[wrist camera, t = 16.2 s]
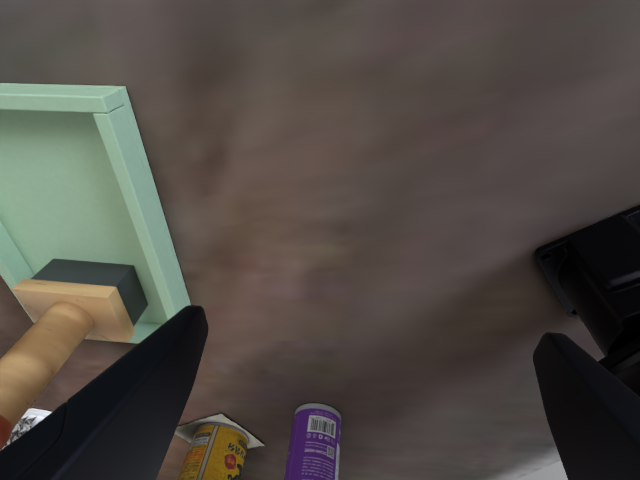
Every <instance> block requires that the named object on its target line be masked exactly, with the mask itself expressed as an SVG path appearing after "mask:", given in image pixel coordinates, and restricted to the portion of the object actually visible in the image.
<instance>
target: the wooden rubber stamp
mask: <svg viewBox="0 0 640 480" xmlns="http://www.w3.org/2000/svg"><path fill="white" fill-rule="evenodd" d="M12 290H13V291H14V293H15V294H16V296H17V297H18V299H19V300H20V302H21V303H22V305H23V306H24V308H25V309H26V311H27V312H28V314H29V315H30V317H31V318H32V320H33V321H34V325H33V326H32V327H31V328H30V329H29V330H28V331H27V332H26V333H25V334H24V335H23V336H22V337H21V338H20V339H19V340H18V341H17V342H16V343H15V344H14V345H13V346H12V347H11V348H10V349H9V350H8V351H7V352H6V353H5V355H4V356H3V357H2V358H1V359H0V451H1V450H2V449H3V447H4V446H5V445H6V443H7V442H8V440H9V438H10V436H11V433H12V429H13V428H14V427H15V425H16V424H17V423H18V422H19V420H20V419H21V418H22V417H23V415H24V414H25V413H26V412H27V410H28V409H29V408H30V406H31V405H32V404H33V403H34V401H35V400H36V399H37V398H38V396H39V395H40V394H41V392H42V391H43V390H44V389H45V387H46V386H47V385H48V384H49V382H50V381H51V380H52V379H53V377H54V376H55V375H56V373H57V372H58V371H59V370H60V368H61V367H62V366H63V365H64V363H65V362H66V361H67V359H68V358H69V357H70V356H71V354H72V353H73V352H74V351H75V349H76V348H77V347H78V346H79V344H80V343H81V342H82V340H83V339H84V338H88V339H98V340H108V341H118V342H129V341H130V339H131V338H132V336H133V335H134V333H135V329H134V326H135V324H136V323H137V321H138V320H139V318H140V317H141V315H142V314H143V312H144V311H145V309H146V308H147V306H148V302H147V300H146V297H145V294H144V292H143V289H142V286H141V283H140V281H139V278H138V275H137V273H136V270H135V267H134V265H126V264H115V263H103V262H91V261H79V260H67V259H55V258H54V259H52V260H51V261H50V262H49V263H48V264H47V265H45V266H44V267H43V268H42V269H41V270H40V271H39V272H38V273H36V274H35V275H34V276H33V277H32V278H31V279H22V280H21V281H20V282H19V283H18V284H17V285H16V286H14V287H13V288H12Z"/></svg>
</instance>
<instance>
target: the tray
mask: <svg viewBox="0 0 640 480" xmlns="http://www.w3.org/2000/svg"><path fill="white" fill-rule="evenodd" d="M54 258H55V259H67V260H79V261H91V262H103V263H115V264H126V265H134V267H135V270H136V273H137V275H138V278H139V281H140V283H141V286H142V289H143V292H144V294H145V297H146V300H147V302H148V306H147V308H146V309H145V311H144V312H143V314H142V315H141V317H140V318H139V320H138V321H137V323H136V324H135V326H134V329H135V333H134V335H133V336H132V338H131V339H130V341H129V342H126V343H137V344H139V343H140V342H141V341H142V340H144V339H145V338H146V337H147V336H149V335H150V334H151V333H152V332H154V331H155V330H156V329H158V328H159V327H160V326H161V325H163V324H164V323H165V322H166V321H168V320H169V319H170V318H171V317H173V316H174V315H175V314H176V313H178V312H179V311H180V310H181V309H183V308H184V307H185V306H188V305H191V303H190V300H189V297H188V293H187V290H186V287H185V283H184V280H183V277H182V273H181V270H180V267H179V263H178V260H177V257H176V253H175V250H174V247H173V243H172V240H171V237H170V233H169V230H168V227H167V223H166V220H165V217H164V213H163V210H162V207H161V203H160V200H159V197H158V193H157V190H156V187H155V183H154V180H153V177H152V173H151V170H150V167H149V163H148V160H147V157H146V153H145V150H144V146H143V143H142V140H141V136H140V133H139V130H138V126H137V123H136V120H135V116H134V113H133V110H132V106H131V103H130V100H129V96H128V93H127V90H126V87H125V86H94V85H56V84H18V83H0V275H1V276H2V278H3V279H4V281H5V282H6V283H7V285H8V286H9V288H10V289H11V291H12V292H13V294H14V295H15V296H16V294H15V293H14V291H13V290H12V288H13V287H14V286H16V285H17V284H18V283H19V282H20V281H21V280H22V279H31V278H32V277H33V276H34V275H35V274H36V273H38V272H39V271H40V270H41V269H42V268H43V267H44V266H45V265H47V264H48V263H49V262H50V261H51V260H52V259H54ZM16 298H17V299H18V297H17V296H16ZM18 301H19V302H20V300H19V299H18ZM20 304H21V305H22V303H21V302H20ZM22 306H23V305H22ZM23 308H24V306H23ZM24 309H25V308H24ZM25 311H26V309H25ZM26 312H27V311H26ZM27 314H28V312H27ZM28 315H29V314H28ZM29 317H30V315H29ZM30 318H31V317H30ZM31 319H32V318H31ZM32 321H33V320H32ZM33 322H34V321H33ZM84 339H88V338H84ZM92 340H98V339H92ZM103 341H108V340H103ZM114 342H118V341H114Z"/></svg>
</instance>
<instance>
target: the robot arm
mask: <svg viewBox="0 0 640 480" xmlns="http://www.w3.org/2000/svg"><path fill="white" fill-rule="evenodd" d="M546 253H548V254H546ZM544 254H546V255H545V256H542V255H544ZM535 257H536V259H537V261H538V263H539V264H540V266H541V268H542V270H543V272H544V273H545V275H546V277H547V279H548V281H549V282H550V284H551V286H552V288H553V290H554V291H555V293H556V295H557V297H558V299H559V300H560V302H561V304H562V306H563V308H564V309H565V311H566V313H567V314H568V315H569V316H571V317H577V316H579V317H580V318H581V320H582V321H583V323H584V324H585V326H586V327H587V329H588V331H589V332H590V334H591V335H592V337H593V338H594V340H595V342H596V343H597V345H598V346H599V348H600V349H601V351H602V352H603V354H604V356H605V357H604V358H603V359H601V360H600V361H598V362H597V361H596V360H595V359H594V358H592V357H591V356H590V355H589V354H588V353H586V352H585V351H584V350H583V349H582V348H580V347H579V346H578V345H577V344H576V343H574V342H573V341H572V340H571V339H570V338H569V337H567V336H566V335H564V334H561V333H545V334H544V335H543V336H542V338H541V340H540V342H539V344H538V345H537V347H536V349H535V351H534V354H533V362H534V366H535V371H536V375H537V379H538V383H539V388H540V392H541V396H542V400H543V405H544V409H545V413H546V417H547V420H548V423H549V426H550V429H551V432H552V435H553V438H554V441H555V444H556V446H557V449H558V452H559V455H560V458H561V461H562V463H563V466H564V469H565V472H566V475H567V478H568V480H640V205H639V206H636V207H634V208H631V209H629V210H627V211H624V212H622V213H620V214H617V215H615V216H613V217H610V218H608V219H605V220H603V221H601V222H598V223H596V224H594V225H591V226H589V227H587V228H584V229H582V230H579V231H577V232H575V233H572V234H570V235H568V236H565V237H563V238H561V239H558V240H556V241H554V242H551V243H549V244H546V245H544V246H542V247H540V248H538V249H537V250H536V251H535ZM207 335H208V324H207V320H206V316H205V313H204V309H203V308H202V307H201V306H194V305H188V306H185V307H184V308H183V309H181V310H180V311H179V312H178V313H176V314H175V315H174V316H173V317H171V318H170V319H169V320H168V321H166V322H165V323H164V324H163V325H161V326H160V327H159V328H158V329H156V330H155V331H154V332H152V333H151V334H150V335H149V336H147V337H146V338H145V339H144V340H142V341H141V342H140V343H139V344H137V345H136V346H135V347H134V348H132V349H131V350H130V351H129V352H127V353H126V354H125V355H124V356H122V357H121V358H120V359H119V360H117V361H116V362H115V363H114V364H112V365H111V366H110V367H108V368H107V369H106V370H105V371H103V372H102V373H101V374H100V375H98V376H97V377H96V378H95V379H93V380H92V381H91V382H90V383H88V384H87V385H86V386H85V387H83V388H82V389H81V390H80V391H78V392H77V393H76V394H75V395H73V396H72V397H71V398H70V399H68V401H67V402H65V403H63V404H62V405H61V406H59V407H58V408H57V409H56V410H54V411H53V412H52V413H50V414H49V415H48V416H47V417H45V418H44V419H43V420H41V421H40V422H39V423H38V424H36V425H35V426H34V427H32V428H31V429H30V430H28V431H27V432H26V433H24V434H23V435H22V436H20V437H19V438H17V439H16V440H15V441H13V442H12V443H11V444H9V445H8V446H6V447H5V448H4V449H2V450H1V451H0V480H156V478H157V475H158V473H159V470H160V468H161V465H162V463H163V460H164V458H165V455H166V453H167V450H168V448H169V445H170V443H171V440H172V438H173V435H174V433H175V430H176V428H177V425H178V423H179V420H180V418H181V415H182V413H183V410H184V408H185V405H186V403H187V400H188V398H189V395H190V393H191V390H192V387H193V384H194V381H195V378H196V374H197V371H198V367H199V363H200V360H201V356H202V353H203V349H204V345H205V342H206V338H207Z"/></svg>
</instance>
